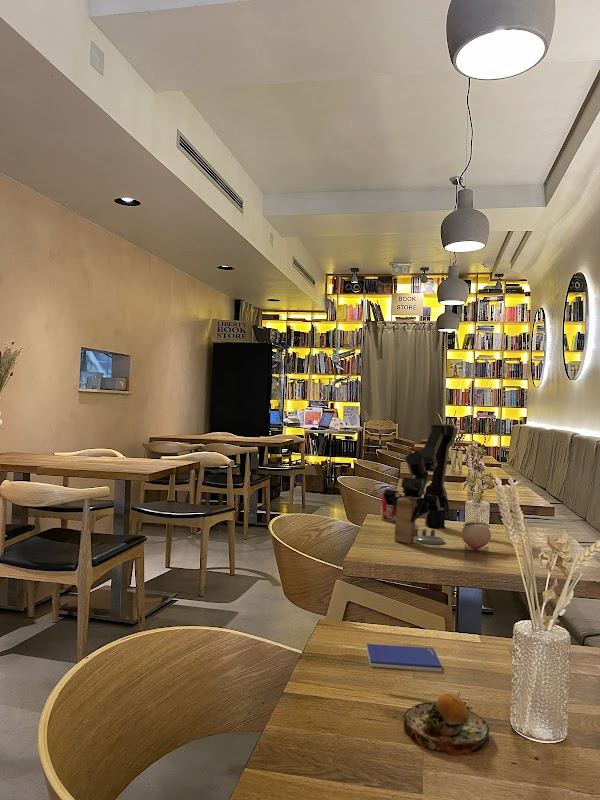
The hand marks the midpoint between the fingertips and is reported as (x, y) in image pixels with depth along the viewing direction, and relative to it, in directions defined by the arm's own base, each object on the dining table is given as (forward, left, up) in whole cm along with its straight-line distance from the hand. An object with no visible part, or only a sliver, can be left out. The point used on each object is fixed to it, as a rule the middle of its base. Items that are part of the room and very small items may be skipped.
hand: (404, 520), depth 212 cm
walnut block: (-1, -1, -7) cm, 7 cm away
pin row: (-10, -11, -7) cm, 16 cm away
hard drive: (+20, +96, -8) cm, 98 cm away
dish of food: (+19, +121, -8) cm, 123 cm away
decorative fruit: (-23, +6, -8) cm, 25 cm away
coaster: (-10, -4, -7) cm, 13 cm away
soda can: (-3, -38, -8) cm, 39 cm away
